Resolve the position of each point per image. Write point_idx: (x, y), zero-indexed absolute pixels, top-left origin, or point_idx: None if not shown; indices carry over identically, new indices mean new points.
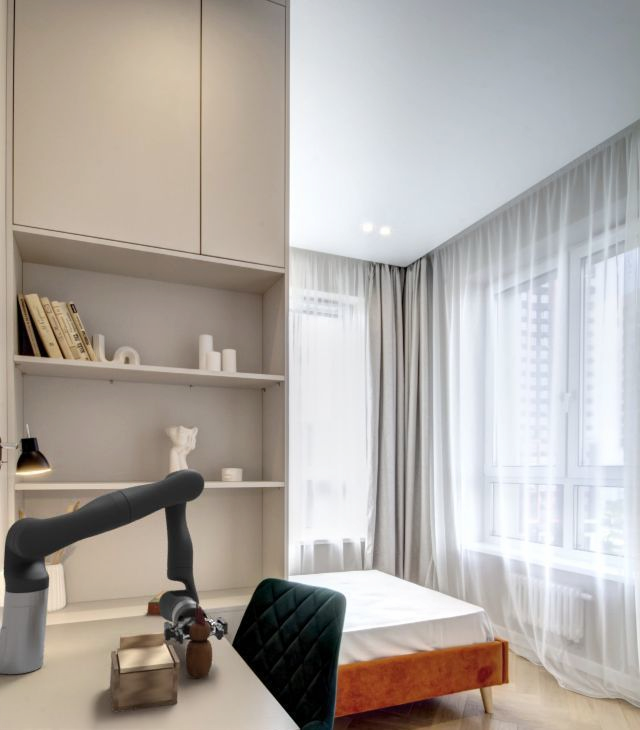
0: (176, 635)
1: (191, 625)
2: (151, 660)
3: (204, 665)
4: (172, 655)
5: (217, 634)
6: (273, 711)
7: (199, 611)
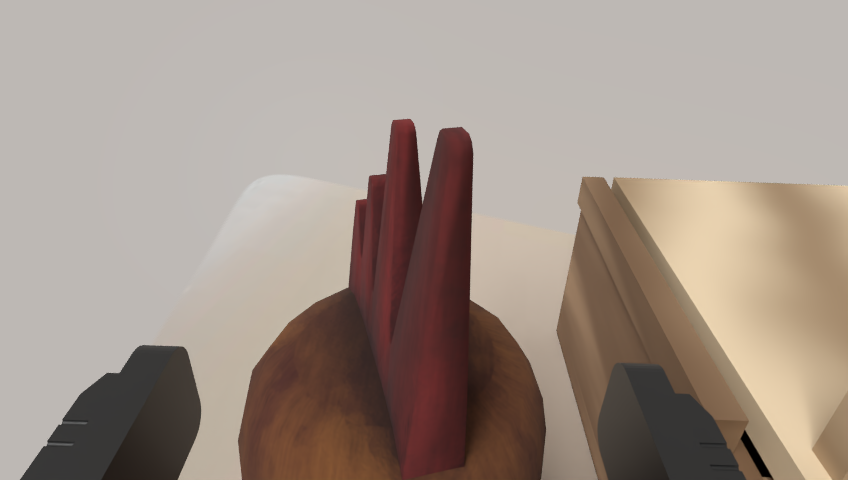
0: (703, 414)
1: (527, 368)
2: (754, 216)
3: None
4: (642, 246)
5: (168, 441)
6: (250, 208)
7: (412, 204)
